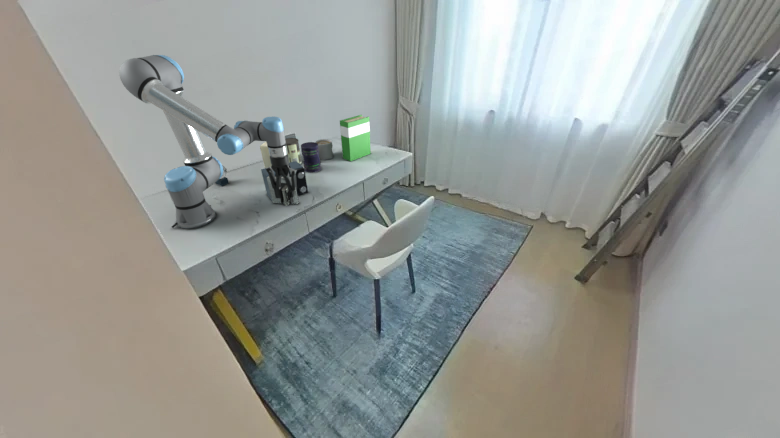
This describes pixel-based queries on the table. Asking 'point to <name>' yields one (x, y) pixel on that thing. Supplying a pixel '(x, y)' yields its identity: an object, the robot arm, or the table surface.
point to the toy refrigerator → (265, 155)
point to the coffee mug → (325, 149)
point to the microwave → (299, 176)
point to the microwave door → (284, 192)
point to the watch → (223, 178)
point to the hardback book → (355, 137)
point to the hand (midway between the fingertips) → (287, 202)
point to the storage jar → (311, 157)
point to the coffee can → (293, 150)
